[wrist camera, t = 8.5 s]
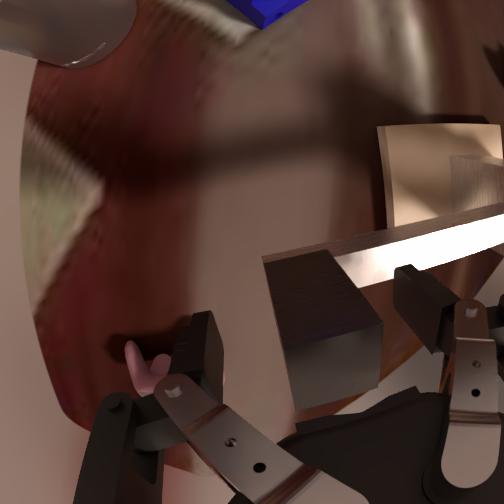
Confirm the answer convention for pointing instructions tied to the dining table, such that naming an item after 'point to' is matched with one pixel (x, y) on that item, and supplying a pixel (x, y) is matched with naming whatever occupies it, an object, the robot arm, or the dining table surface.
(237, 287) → the dining table surface
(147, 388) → the video game controller
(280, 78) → the dining table surface
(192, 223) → the dining table surface
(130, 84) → the dining table surface
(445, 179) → the stand
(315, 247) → the shaft
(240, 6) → the cable clip
